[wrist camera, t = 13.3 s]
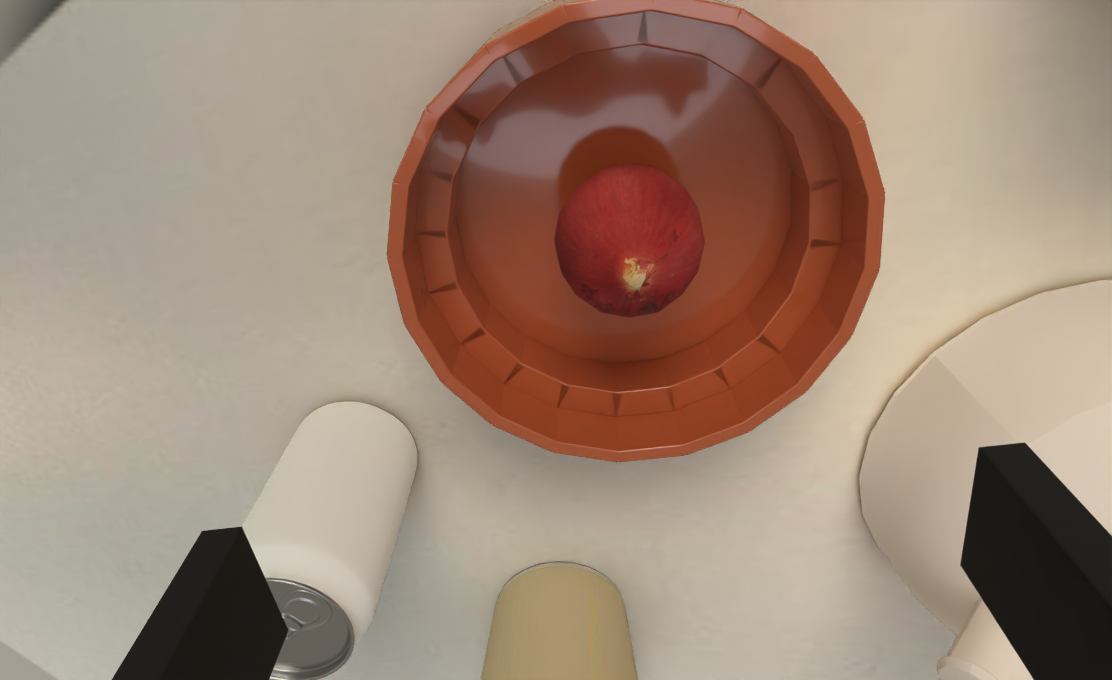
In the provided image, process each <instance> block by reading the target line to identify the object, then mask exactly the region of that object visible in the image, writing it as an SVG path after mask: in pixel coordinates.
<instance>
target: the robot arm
mask: <svg viewBox="0 0 1112 680" xmlns="http://www.w3.org/2000/svg"><path fill="white" fill-rule="evenodd" d="M960 566H961V567H962V569H963V570H964V572H965V573H966V575H967V577H968V578H969V580H970V581H971V583H972V584H973V586H974V587H975V589H976V591H977V592H978V594H979V595H980V597H981V598H982V600H983V601H984V603H985V605H986V606H987V608H988V609H989V611H990V612H991V614H992V615H993V617H994V619H995V620H996V622H997V623H998V625H999V626H1000V628H1001V630H1002V631H1003V633H1004V634H1005V636H1006V637H1007V639H1008V640H1009V642H1010V644H1011V645H1012V647H1013V648H1014V650H1015V651H1016V653H1017V654H1018V656H1019V658H1020V659H1021V661H1022V662H1023V664H1024V665H1025V667H1026V668H1027V670H1028V672H1029V673H1030V675H1031V676H1032V678H1033V679H1034V680H1112V536H1111V534H1110V533H1109V532H1108V531H1107V530H1106V529H1105V528H1104V527H1103V526H1102V525H1101V524H1100V523H1099V522H1098V520H1097V519H1096V518H1095V517H1094V516H1093V515H1092V514H1091V513H1090V512H1089V511H1088V510H1087V509H1086V508H1085V506H1084V505H1083V504H1082V503H1081V502H1080V501H1079V500H1078V499H1077V498H1076V497H1075V496H1074V495H1073V494H1072V492H1071V491H1070V490H1069V489H1068V488H1067V487H1066V486H1065V485H1064V484H1063V483H1062V482H1061V481H1060V480H1059V478H1058V477H1057V476H1056V475H1055V474H1054V473H1053V472H1052V471H1051V470H1050V469H1049V468H1048V467H1047V466H1046V464H1045V463H1044V462H1043V461H1042V460H1041V459H1040V458H1039V457H1038V456H1037V455H1036V454H1035V453H1034V452H1033V450H1032V449H1031V448H1030V447H1029V446H1028V445H1027V444H1026V443H1025V442H1024V443H1014V444H1005V445H996V446H986V447H979V448H978V455H977V461H976V467H975V474H974V480H973V486H972V493H971V499H970V506H969V512H968V518H967V525H966V531H965V537H964V544H963V550H962V556H961V563H960ZM287 633H288V628H287V626H286V623H285V621H284V619H283V617H282V614H281V612H280V610H279V608H278V605H277V603H276V601H275V599H274V597H273V594H272V592H271V590H270V588H269V585H268V583H267V581H266V579H265V577H264V574H263V572H262V570H261V568H260V565H259V563H258V561H257V559H256V557H255V554H254V552H253V550H252V548H251V545H250V543H249V541H248V539H247V536H246V534H245V532H244V530H243V528H242V527H235V528H226V529H217V530H207V531H202V532H201V534H200V536H199V537H198V539H197V540H196V542H195V544H194V545H193V547H192V549H191V550H190V552H189V554H188V555H187V557H186V559H185V560H184V562H183V564H182V565H181V567H180V568H179V570H178V572H177V573H176V575H175V577H174V578H173V580H172V582H171V583H170V585H169V587H168V588H167V590H166V591H165V593H164V595H163V596H162V598H161V600H160V601H159V603H158V605H157V606H156V608H155V610H154V611H153V613H152V614H151V616H150V618H149V619H148V621H147V623H146V624H145V626H144V628H143V629H142V631H141V633H140V634H139V636H138V637H137V639H136V641H135V642H134V644H133V646H132V647H131V649H130V651H129V652H128V654H127V656H126V657H125V659H124V661H123V662H122V664H121V665H120V667H119V669H118V670H117V672H116V674H115V675H114V677H113V679H112V680H269V679H270V676H271V673H272V671H273V668H274V666H275V663H276V661H277V658H278V656H279V653H280V651H281V648H282V646H283V643H284V641H285V638H286V635H287Z"/></svg>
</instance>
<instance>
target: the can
mask: <svg viewBox="0 0 1112 680" xmlns="http://www.w3.org/2000/svg"><path fill="white" fill-rule="evenodd" d="M417 462H418V455H417V448H416V445H415V442H414V440H413V438H412V436H411V434H410V432H409V431H408V429H407V428H406V427H405V425H404V424H403V423H401V422H400V421H399V420H398V419H397V418H395V417H394V416H392V415H391V414H389V413H387V412H386V411H384V410H382V409H380V408H377V407H375V406H372V405H369V404H365V403H360V402H350V401H346V402H336V403H331V404H328V405H325V406H322V407H320V408H318V409H316V410H315V411H313V412H312V413H310V414H309V415H308V416H307V417H306V418H305V419H304V420H303V421H302V423H301V424H300V426H299V427H298V429H297V430H296V432H295V434H294V436H293V437H292V439H291V441H290V442H289V444H288V446H287V448H286V449H285V451H284V453H283V455H282V456H281V458H280V460H279V462H278V463H277V465H276V467H275V469H274V470H273V472H272V474H271V476H270V477H269V479H268V481H267V483H266V485H265V486H264V488H263V490H262V492H261V493H260V495H259V497H258V499H257V500H256V502H255V504H254V506H253V508H252V509H251V511H250V513H249V515H248V516H247V518H246V520H245V522H244V524H243V525H242V528H243V530H244V532H245V534H246V536H247V539H248V541H249V543H250V545H251V548H252V550H253V552H254V554H255V557H256V559H257V561H258V563H259V565H260V568H261V570H262V572H263V574H264V577H265V579H266V581H267V583H268V585H269V588H270V590H271V592H272V594H273V597H274V599H275V601H276V603H277V605H278V608H279V610H280V612H281V614H282V617H283V619H284V621H285V623H286V626H287V628H288V633H287V635H286V638H285V641H284V643H283V646H282V648H281V651H280V653H279V656H278V658H277V661H276V663H275V666H274V668H273V671H272V673H271V676H270V679H269V680H317V679H320V678H323V677H326V676H328V675H330V674H332V673H334V672H335V671H337V670H338V669H340V668H341V667H342V666H343V665H344V664H345V663H346V662H347V660H348V659H349V657H350V656H351V653H352V651H353V648H354V645H355V644H356V643H357V642H358V641H359V640H360V639H361V638H362V637H363V636H364V634H365V633H366V631H367V630H368V628H369V626H370V624H371V622H372V619H373V616H374V613H375V610H376V607H377V604H378V601H379V598H380V594H381V591H382V588H383V584H384V581H385V577H386V574H387V571H388V567H389V564H390V560H391V557H392V553H393V550H394V546H395V543H396V540H397V536H398V533H399V529H400V526H401V522H402V519H403V515H404V512H405V508H406V505H407V501H408V498H409V494H410V491H411V487H412V484H413V480H414V476H415V472H416V468H417Z"/></svg>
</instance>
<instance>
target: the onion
mask: <svg viewBox="0 0 1112 680" xmlns="http://www.w3.org/2000/svg"><path fill="white" fill-rule="evenodd" d="M554 243H555V248H556V252H557V257H558V261H559V266H560V269H561V273H562V275H563V276H564V278H565V279H566V281H567V283H568V284H569V286H570V287H571V289H572V290H573V292H574V293H575V295H576V296H578V297H579V298H581V299H582V300H584V301H585V302H587V303H588V304H589V305H591V306H592V307H594V308H595V309H597V310H598V311H600V312H601V313H606V314H612V315H617V316H622V317H628V318H630V317H636V316H641V315H646V314H652V313H657V312H660V311H661V310H662V309H664V308H665V307H666V306H668V305H669V304H670V303H672V302H673V301H674V300H676V299H677V298H678V297H680V296H681V295H683V293H684V292H685V290H686V289H687V287H688V286H689V284H690V283H691V281H692V280H693V279H694V277H695V276H696V274H697V273H698V270H699V266H700V262H701V258H702V253H703V249H704V245H705V238H704V233H703V228H702V223H701V218H700V214H699V209H698V207H697V206H696V204H695V203H694V201H693V199H692V198H691V196H690V195H689V193H688V191H687V190H686V188H685V187H684V186H683V185H682V184H680V183H679V182H677V181H676V180H674V179H673V178H671V177H670V176H668V175H667V174H665V173H664V172H662V171H661V170H659V169H658V168H655V167H648V166H642V165H636V164H626V165H621V166H617V167H612V168H607V169H603V170H601V171H600V172H598V173H596V174H595V175H593V176H592V177H590V178H589V179H587V180H585V181H584V182H582V183H581V184H579V186H578V187H577V188H576V189H575V191H574V192H573V194H572V195H571V196H570V198H569V199H568V200H567V202H566V203H565V205H564V206H563V207H562V209H561V210H560V212H559V214H558V220H557V226H556V232H555V237H554Z"/></svg>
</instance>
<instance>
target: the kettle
mask: <svg viewBox="0 0 1112 680" xmlns="http://www.w3.org/2000/svg"><path fill="white" fill-rule="evenodd" d="M1024 442H1025V443H1026V444H1027V445H1028V446H1029V447H1030V448H1031V449H1032V450H1033V452H1034V453H1035V454H1036V455H1037V456H1038V457H1039V458H1040V459H1041V460H1042V461H1043V462H1044V463H1045V464H1046V466H1047V467H1048V468H1049V469H1050V470H1051V471H1052V472H1053V473H1054V474H1055V475H1056V476H1057V477H1058V478H1059V480H1060V481H1061V482H1062V483H1063V484H1064V485H1065V486H1066V487H1067V488H1068V489H1069V490H1070V491H1071V492H1072V494H1073V495H1074V496H1075V497H1076V498H1077V499H1078V500H1079V501H1080V502H1081V503H1082V504H1083V505H1084V506H1085V508H1086V509H1087V510H1088V511H1089V512H1090V513H1091V514H1092V515H1093V516H1094V517H1095V518H1096V519H1097V520H1098V522H1099V523H1100V524H1101V525H1102V526H1103V527H1104V528H1105V529H1106V530H1107V531H1108V532H1109V533H1110V534H1111V536H1112V280H1099V281H1094V282H1089V283H1085V284H1080V285H1075V286H1071V287H1066V288H1061V289H1056V290H1052V291H1047V292H1042V293H1039V294H1037V295H1034V296H1032V297H1030V298H1028V299H1025V300H1023V301H1021V302H1018V303H1016V304H1014V305H1011V306H1009V307H1007V308H1005V309H1002V310H1000V311H998V312H995V313H993V314H991V315H988V316H986V317H984V318H982V319H980V320H979V321H977V322H976V323H975V324H973V325H972V326H970V327H969V328H967V329H966V330H964V331H963V332H962V333H960V334H959V335H957V336H956V337H954V338H953V339H951V340H950V341H949V342H947V343H946V344H944V345H943V346H941V347H940V348H938V349H937V350H936V351H934V352H933V353H932V354H931V355H930V356H929V357H928V358H927V359H926V360H925V361H924V362H923V363H922V364H921V365H920V366H919V367H918V368H917V369H916V370H915V372H914V373H913V374H912V375H911V376H910V377H909V378H908V379H907V380H906V381H905V382H904V383H903V384H902V385H901V386H900V387H899V388H898V389H897V391H896V392H895V393H894V394H893V396H892V398H891V399H890V401H889V403H888V404H887V406H886V408H885V410H884V411H883V413H882V415H881V417H880V418H879V420H878V422H877V423H876V425H875V427H874V429H873V430H872V432H871V434H870V436H869V440H868V444H867V448H866V452H865V456H864V460H863V464H862V468H861V472H860V476H859V481H860V493H861V504H862V515H863V517H864V519H865V521H866V523H867V525H868V528H869V530H870V532H871V534H872V536H873V538H874V540H875V542H876V544H877V546H878V548H879V549H880V550H881V551H882V552H883V553H884V554H885V555H886V556H887V558H888V559H889V561H890V562H891V564H892V565H893V566H894V568H895V569H896V571H897V572H898V574H899V575H900V577H901V578H902V580H903V581H904V582H905V584H906V585H907V587H908V588H909V590H910V591H911V593H912V594H913V596H914V597H915V599H916V600H917V601H919V602H920V603H921V604H922V605H923V606H924V607H925V608H926V609H927V610H928V611H929V612H930V613H931V614H932V615H933V616H934V617H935V618H936V619H937V620H938V621H939V622H940V623H941V624H943V625H944V626H945V627H947V628H948V629H949V630H951V631H952V632H953V633H955V634H956V635H957V638H956V640H955V642H954V643H953V645H952V647H951V649H950V650H949V652H948V654H947V656H944V657H943V658H941V659H939V660H938V662H937V671H938V677H939V679H940V680H1034V679H1033V678H1032V676H1031V675H1030V673H1029V672H1028V670H1027V668H1026V667H1025V665H1024V664H1023V662H1022V661H1021V659H1020V658H1019V656H1018V654H1017V653H1016V651H1015V650H1014V648H1013V647H1012V645H1011V644H1010V642H1009V640H1008V639H1007V637H1006V636H1005V634H1004V633H1003V631H1002V630H1001V628H1000V626H999V625H998V623H997V622H996V620H995V619H994V617H993V615H992V614H991V612H990V611H989V609H988V608H987V606H986V605H985V603H984V601H983V600H982V598H981V597H980V595H979V594H978V592H977V591H976V589H975V587H974V586H973V584H972V583H971V581H970V580H969V578H968V577H967V575H966V573H965V572H964V570H963V569H962V567H961V566H960V563H961V556H962V550H963V544H964V537H965V531H966V525H967V518H968V512H969V506H970V499H971V493H972V486H973V480H974V474H975V467H976V461H977V455H978V448H979V447H986V446H996V445H1005V444H1014V443H1024Z"/></svg>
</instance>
